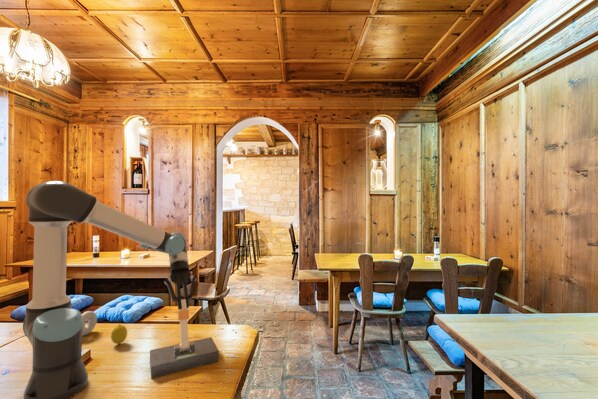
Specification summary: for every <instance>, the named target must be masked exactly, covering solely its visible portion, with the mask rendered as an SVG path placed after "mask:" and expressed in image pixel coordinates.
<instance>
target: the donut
mask: <svg viewBox="0 0 598 399" xmlns="http://www.w3.org/2000/svg"><path fill="white" fill-rule="evenodd" d="M81 315H82V320H83V325H82V337H84V336H87V335H89V334H90V333H91V332H92V331H93V330H94V329H95V327H96V325H97V323H98V318H97V317H98V316H97V314H96V313H95V312H94V311H92V310H87V311H84V312H83V313H81Z"/></svg>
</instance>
